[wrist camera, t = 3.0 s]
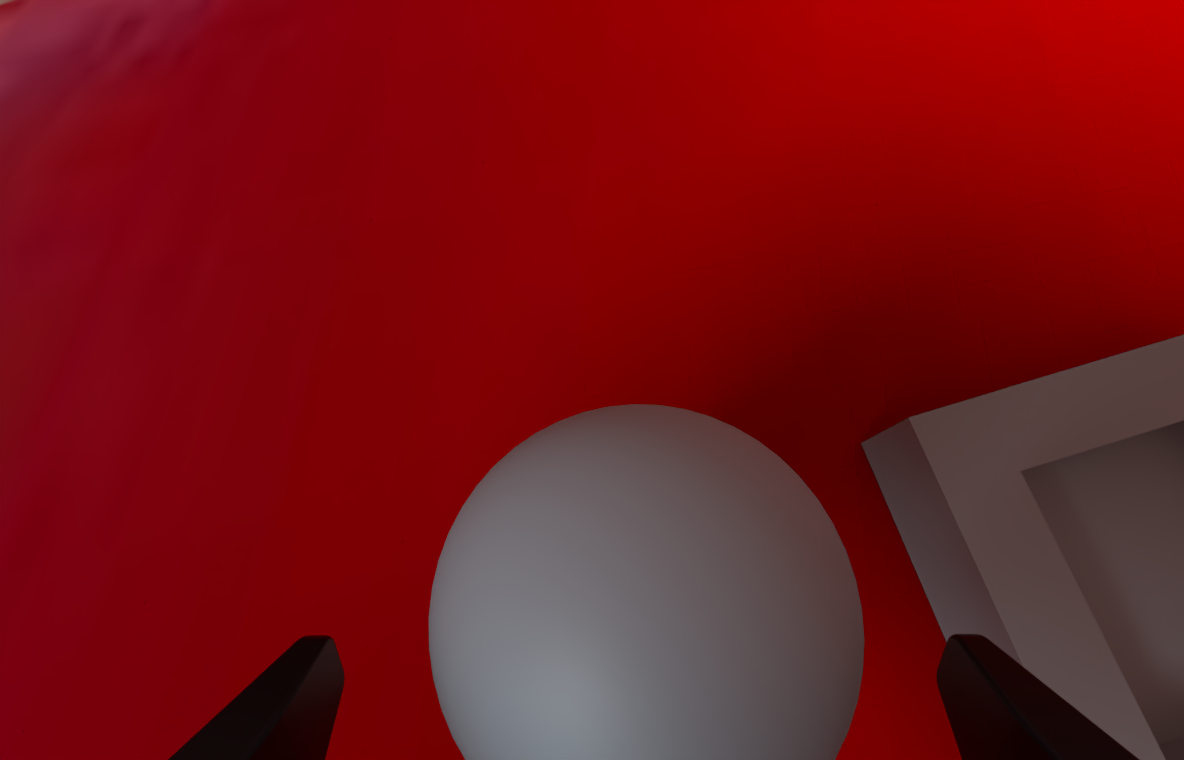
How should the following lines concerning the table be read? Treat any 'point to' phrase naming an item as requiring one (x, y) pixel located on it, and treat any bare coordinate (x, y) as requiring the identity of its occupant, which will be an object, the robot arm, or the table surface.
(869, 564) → the table surface
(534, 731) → the grey round-top peg
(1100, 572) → the jig
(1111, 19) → the table surface
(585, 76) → the table surface
